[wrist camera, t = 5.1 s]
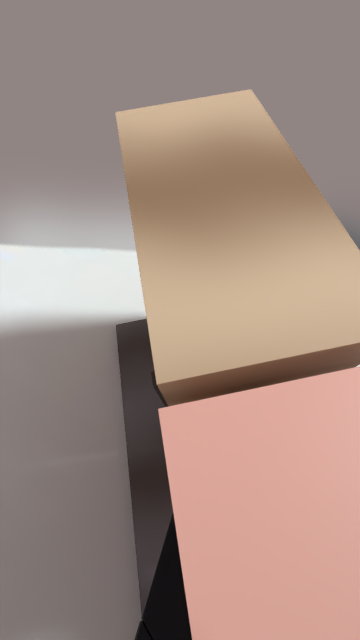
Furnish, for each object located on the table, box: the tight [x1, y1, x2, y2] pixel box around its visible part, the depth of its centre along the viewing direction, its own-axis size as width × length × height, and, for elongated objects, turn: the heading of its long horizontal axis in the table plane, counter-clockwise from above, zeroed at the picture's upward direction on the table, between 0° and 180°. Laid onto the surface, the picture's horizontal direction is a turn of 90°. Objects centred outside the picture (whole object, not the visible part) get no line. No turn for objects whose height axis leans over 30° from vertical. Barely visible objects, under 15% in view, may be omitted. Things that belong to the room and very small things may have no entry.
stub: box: [158, 367, 360, 640], centre depth 8 cm, size 5×4×13 cm
